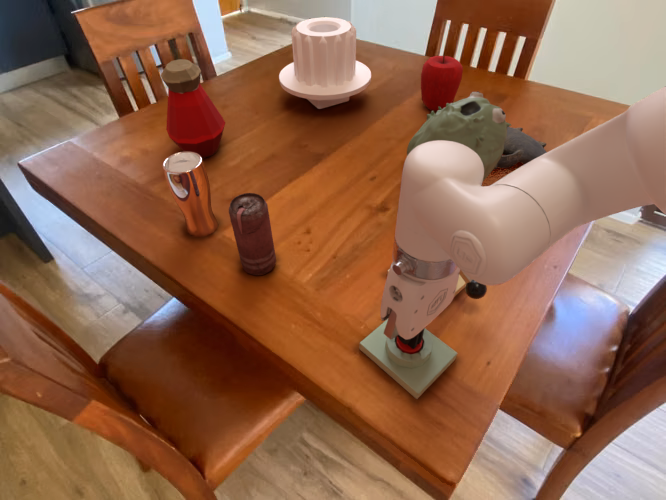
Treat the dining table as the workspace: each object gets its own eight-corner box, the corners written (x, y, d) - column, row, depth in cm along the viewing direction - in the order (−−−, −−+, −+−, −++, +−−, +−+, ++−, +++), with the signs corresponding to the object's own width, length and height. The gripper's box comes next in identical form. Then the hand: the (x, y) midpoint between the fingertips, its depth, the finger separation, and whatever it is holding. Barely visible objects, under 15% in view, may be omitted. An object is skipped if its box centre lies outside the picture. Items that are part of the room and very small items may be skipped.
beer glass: (199, 211, 88) (179, 147, 77) (227, 221, 86) (211, 156, 75) (176, 232, 83) (152, 167, 73) (205, 243, 81) (184, 177, 71)
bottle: (231, 162, 100) (213, 77, 86) (171, 170, 98) (142, 84, 84) (228, 128, 111) (212, 48, 97) (175, 134, 109) (150, 53, 95)
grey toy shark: (495, 106, 106) (445, 127, 103) (578, 153, 90) (522, 180, 87) (492, 124, 110) (444, 145, 106) (572, 173, 94) (517, 199, 90)
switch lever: (481, 293, 69) (495, 289, 66) (469, 305, 67) (483, 300, 64) (432, 228, 69) (443, 220, 66) (419, 237, 68) (431, 230, 65)
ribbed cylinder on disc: (306, 129, 110) (301, 53, 97) (267, 91, 126) (258, 21, 112) (387, 105, 118) (393, 31, 105) (341, 72, 134) (341, 5, 120)
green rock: (390, 178, 95) (398, 90, 80) (464, 159, 99) (484, 73, 85) (426, 222, 84) (443, 130, 70) (506, 199, 89) (538, 108, 75)
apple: (461, 114, 114) (472, 62, 105) (423, 117, 113) (431, 65, 104) (448, 96, 122) (457, 46, 112) (412, 99, 121) (419, 48, 111)
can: (237, 275, 75) (221, 214, 65) (248, 250, 80) (234, 189, 70) (270, 279, 75) (259, 218, 65) (280, 253, 79) (271, 192, 69)
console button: (425, 347, 62) (427, 340, 61) (409, 362, 61) (411, 356, 60) (406, 332, 64) (407, 325, 63) (390, 346, 63) (391, 340, 61)
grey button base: (455, 359, 63) (460, 346, 61) (416, 399, 59) (419, 387, 56) (398, 315, 69) (400, 301, 66) (359, 349, 65) (359, 335, 62)
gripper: (410, 305, 43) (393, 391, 56) (493, 233, 50) (461, 325, 63) (356, 265, 47) (352, 354, 60) (440, 204, 54) (420, 295, 67)
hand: (408, 339), depth 61 cm, fingers closed
